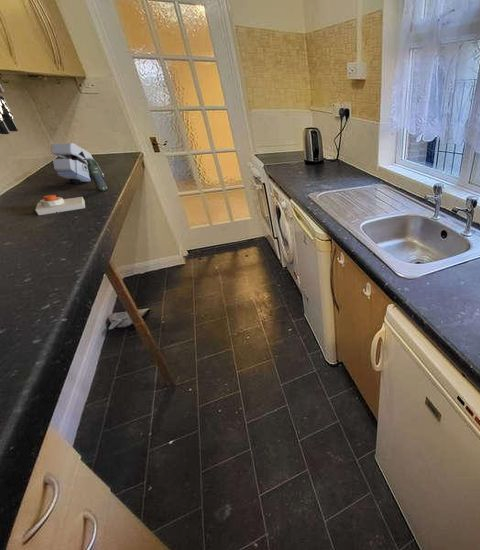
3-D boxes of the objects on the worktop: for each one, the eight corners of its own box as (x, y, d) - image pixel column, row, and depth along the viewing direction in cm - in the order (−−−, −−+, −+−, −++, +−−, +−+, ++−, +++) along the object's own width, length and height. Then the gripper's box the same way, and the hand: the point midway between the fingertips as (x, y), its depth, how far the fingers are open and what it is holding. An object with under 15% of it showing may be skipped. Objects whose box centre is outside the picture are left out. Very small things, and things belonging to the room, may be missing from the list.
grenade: (102, 192, 142) (87, 159, 134) (95, 191, 142) (80, 158, 135) (111, 189, 145) (97, 157, 138) (104, 189, 146) (89, 156, 138)
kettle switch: (45, 202, 116) (42, 198, 116) (45, 200, 119) (43, 195, 118) (57, 200, 118) (55, 196, 118) (58, 198, 121) (55, 194, 120)
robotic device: (105, 192, 166) (103, 157, 167) (73, 177, 145) (71, 138, 146) (84, 193, 164) (83, 158, 165) (49, 178, 143) (47, 138, 144)
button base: (38, 215, 114) (32, 205, 112) (40, 207, 121) (35, 198, 119) (85, 208, 122) (80, 198, 120) (84, 201, 129) (80, 192, 127)
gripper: (-30, 74, 94) (2, 130, 102) (-53, 72, 84) (-15, 135, 92) (3, 75, 97) (31, 130, 106) (-15, 74, 87) (18, 134, 96)
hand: (9, 132), depth 99 cm, fingers open, 8 cm apart
